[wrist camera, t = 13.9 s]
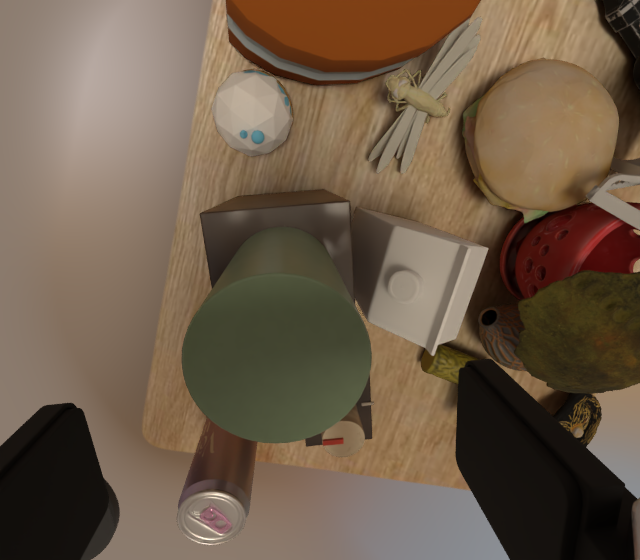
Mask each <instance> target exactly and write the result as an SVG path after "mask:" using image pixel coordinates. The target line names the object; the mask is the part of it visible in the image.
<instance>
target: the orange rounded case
mask: <svg viewBox="0 0 640 560" xmlns="http://www.w3.org/2000/svg"><path fill="white" fill-rule="evenodd" d="M480 1H481V0H226V10H227V22H228V34H229V42H230V43H231V44H232V45H233V46H234V47H235V48H236V49H237V50H238V51H239V52H240V53H241V54H242V55H243V56H244V57H245V58H247V59H249V60H250V61H252V62H254V63H255V64H257V65H259V66H261V67H262V68H264V69H266V70H267V71H269V72H271V73H273V74H274V75H278V76H282V77H286V78H290V79H294V80H297V81H301V82H305V83H309V84H313V85H322V84H345V83H358V82H361V81H364V80H367V79H370V78H373V77H376V76H379V75H382V74H385V73H388V72H391V71H394V70H397V69H399V68H401V67H402V66H404V65H405V64H406V63H408V62H409V61H410V60H412V59H413V58H415V57H418V56H419V55H421V54H422V53H424V52H425V51H427V50H428V49H430V48H431V47H432V46H434V45H435V44H436V43H438V42H439V41H440V40H441V39H443V38H444V37H445V36H447V35H448V34H449V33H451V32H452V31H453V30H455V29H456V28H457V27H459V26H460V25H461V24H463V23H464V22H465V21H467V20H468V19H469V18H470V17H471V16H472V14H473V12H474V11H475V9H476V7H477V6H478V4H479V2H480Z"/></svg>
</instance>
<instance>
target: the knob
mask: <svg viewBox="0 0 640 560" xmlns="http://www.w3.org/2000/svg"><path fill="white" fill-rule="evenodd" d="M321 437H322V444H323V447H324V449H325V450H326V451H327V452H328V453H329V454H331V455H333V456H336V457H348V456H351V455H353V454H355V453H357V452H358V451H359V450H360V449H361V448H362V446H363V444H364V441H365V434H364V431H363V427H362V424H361V420H360V417H359V413H358V410H357V406H356V404H355V406H354V407H353V408H352V409H351V410H350V412H349V413H348V414H347V415H346V416H345V417H344V418H342V419H341V420H340V421H339V422H338V423H336V424H335V425H333V426H332V427H331V428H329V429H327V430H325V431H323V432H322V433H321Z"/></svg>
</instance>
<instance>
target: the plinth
mask: <svg viewBox="0 0 640 560" xmlns="http://www.w3.org/2000/svg"><path fill="white" fill-rule="evenodd" d="M200 218H201V224H202V230H203V237H204V243H205V249H206V255H207V261H208V267H209V273H210V279H211V286H212V288H213V287H214V285H215V284H216V282H217V281H218V279H219V278H220V276H221V275H222V273H223V272H224V270H225V269H226V267H227V266H228V264H229V263H230V261H231V260H232V258H233V257H234V255H235V254H236V252H237V251H238V249H239V248H240V247H241V245H242V244H243V243H244V242H245V241H246V240H247V239H249V238H250V237H251V236H253V235H254V234H256V233H258V232H260V231H263V230H265V229H269V228H274V227H291V228H296V229H299V230H302V231H304V232H307V233H308V234H310V235H312V236H313V237H315V238H316V239H317V240H318V241H319V242H320V243H322V245H323V246H324V247H325V248H326V250H327V251H328V253H329V255H330V256H331V258H332V260H333V262H334V264H335V266H336V268H337V270H338V272H339V274H340V276H341V278H342V280H343V282H344V284H345V286H346V288H347V290H348V292H349V294H350V296H351V298H352V300H353V302H354V304H355V293H354V273H353V253H352V233H351V213H350V201H348V200H346V199H344V198H342V197H340V196H337V195H335V194H333V193H331V192H329V191H326V190H324V189H321V190H309V191H296V192H284V193H271V194H258V195H246V196H237V197H235V198H233V199H231V200H228V201H226V202H224V203H222V204H219V205H217V206H215V207H213V208H211V209H208V210H206V211H204V212H202V213H200Z"/></svg>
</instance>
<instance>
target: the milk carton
mask: <svg viewBox="0 0 640 560" xmlns="http://www.w3.org/2000/svg"><path fill="white" fill-rule="evenodd" d="M351 233H352V253H353V273H354V293H355V299H356V301H357V302H358V304H359V306H360V308H361V310H362V312H363V314H364V316H365V317H366V319H367V321H368V322H370V323H372V324H374V325H376V326H378V327H380V328H383V329H385V330H387V331H389V332H391V333H394V334H396V335H398V336H400V337H402V338H404V339H407V340H409V341H411V342H413V343H415V344H417V345H420V346H422V347H424V348H426V349H427V351H428V352H429V353H430V354H431V355H432V356H434V355H435V352H436V349H437V346H438V345H439V344H442V343H445V342H448V341H451V340H454V339H456V337H457V335H458V332H459V329H460V326H461V324H462V321H463V318H464V315H465V313H466V310H467V307H468V304H469V302H470V299H471V296H472V293H473V291H474V288H475V285H476V282H477V280H478V277H479V274H480V271H481V269H482V266H483V263H484V260H485V257H486V255H487V252H488V248H487V247H484V246H482V245H479V244H476V243H474V242H471V241H468V240H466V239H463V238H460V237H458V236H455V235H452V234H450V233H447V232H444V231H441V230H439V229H436V228H433V227H431V226H428V225H425V224H423V223H420V222H417V221H413V220H409V219H405V218H400V217H396V216H392V215H388V214H384V213H380V212H376V211H372V210H368V209H364V208H360V207H356V210H355V213H354V217H353V221H352V224H351Z"/></svg>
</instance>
